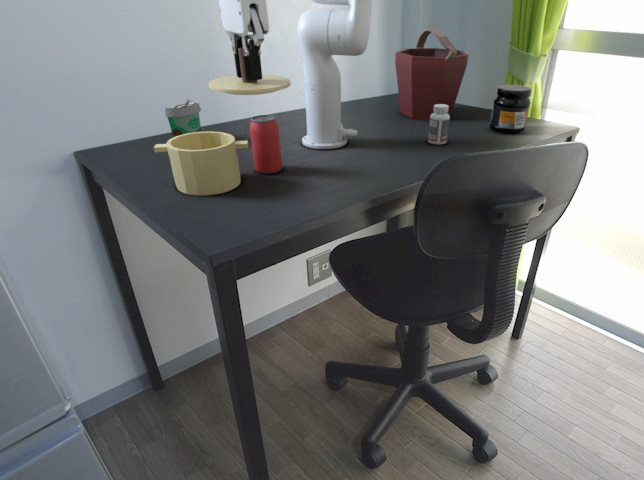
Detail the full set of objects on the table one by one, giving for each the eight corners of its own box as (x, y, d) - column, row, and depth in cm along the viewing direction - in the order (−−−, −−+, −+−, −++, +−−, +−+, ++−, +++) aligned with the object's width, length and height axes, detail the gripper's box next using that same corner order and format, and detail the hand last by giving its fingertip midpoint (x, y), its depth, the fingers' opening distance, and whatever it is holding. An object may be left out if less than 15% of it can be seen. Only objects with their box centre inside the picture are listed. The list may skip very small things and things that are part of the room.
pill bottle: (444, 139, 129) (449, 103, 124) (448, 145, 125) (453, 107, 119) (426, 139, 129) (429, 103, 123) (429, 145, 125) (433, 108, 119)
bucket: (463, 123, 143) (476, 33, 128) (394, 123, 143) (400, 32, 128) (450, 105, 163) (461, 25, 148) (390, 105, 163) (394, 25, 148)
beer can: (270, 176, 105) (264, 123, 97) (249, 171, 107) (242, 119, 100) (288, 168, 109) (283, 117, 102) (267, 163, 112) (261, 113, 105)
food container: (193, 149, 121) (185, 109, 115) (172, 147, 122) (164, 108, 116) (213, 136, 131) (207, 99, 125) (194, 134, 132) (187, 98, 126)
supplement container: (522, 136, 132) (532, 92, 125) (486, 132, 135) (494, 89, 128) (525, 127, 140) (534, 85, 133) (491, 124, 143) (498, 83, 136)
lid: (213, 81, 89) (207, 43, 85) (289, 80, 91) (286, 42, 87) (205, 98, 77) (197, 54, 73) (292, 96, 79) (289, 53, 75)
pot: (170, 174, 105) (160, 133, 100) (253, 170, 108) (248, 129, 102) (158, 198, 94) (146, 153, 89) (252, 192, 97) (246, 148, 91)
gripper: (279, -48, 68) (288, 83, 79) (236, -45, 79) (249, 70, 90) (233, -50, 65) (249, 88, 76) (194, -46, 76) (213, 74, 86)
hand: (249, 77), depth 83 cm, fingers closed on lid, 2 cm apart
